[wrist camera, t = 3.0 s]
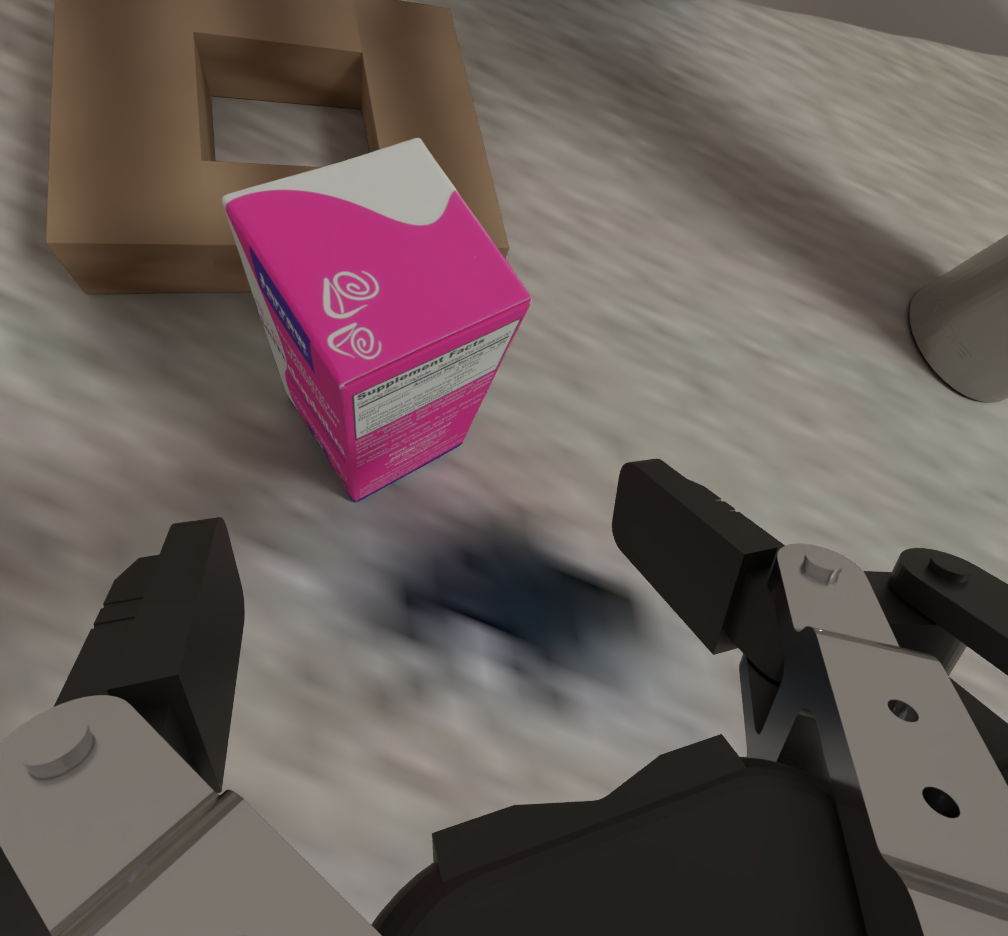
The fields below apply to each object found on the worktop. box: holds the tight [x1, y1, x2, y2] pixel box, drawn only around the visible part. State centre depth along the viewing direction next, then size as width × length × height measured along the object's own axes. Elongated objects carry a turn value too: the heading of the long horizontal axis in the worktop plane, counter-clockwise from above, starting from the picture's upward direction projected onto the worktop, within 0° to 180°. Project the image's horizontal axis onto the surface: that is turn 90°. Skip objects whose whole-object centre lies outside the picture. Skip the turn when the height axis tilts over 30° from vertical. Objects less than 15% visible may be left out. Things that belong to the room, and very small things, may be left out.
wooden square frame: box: [46, 0, 509, 294], centre depth 25 cm, size 18×16×3 cm
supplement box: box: [222, 138, 532, 502], centre depth 18 cm, size 6×6×12 cm
